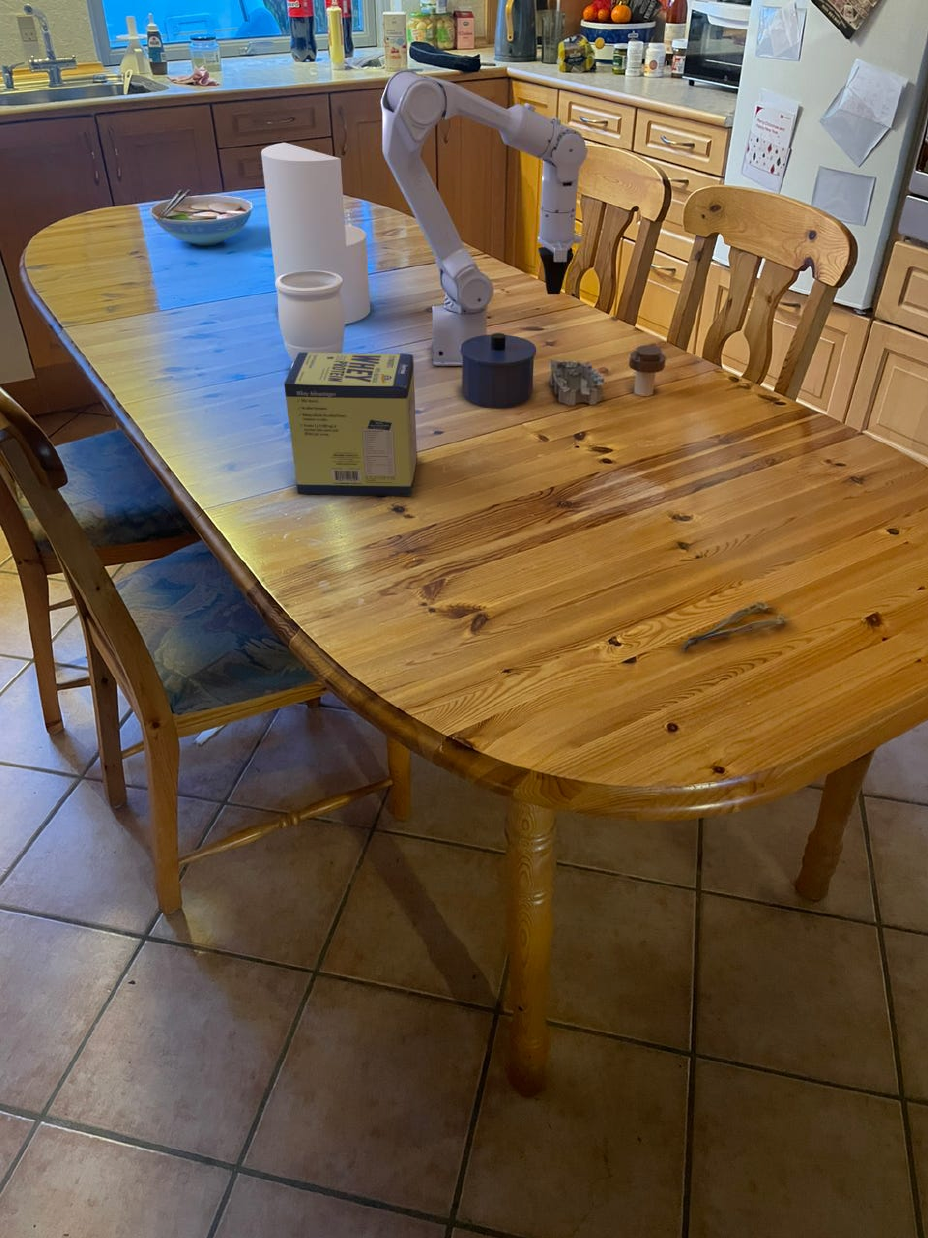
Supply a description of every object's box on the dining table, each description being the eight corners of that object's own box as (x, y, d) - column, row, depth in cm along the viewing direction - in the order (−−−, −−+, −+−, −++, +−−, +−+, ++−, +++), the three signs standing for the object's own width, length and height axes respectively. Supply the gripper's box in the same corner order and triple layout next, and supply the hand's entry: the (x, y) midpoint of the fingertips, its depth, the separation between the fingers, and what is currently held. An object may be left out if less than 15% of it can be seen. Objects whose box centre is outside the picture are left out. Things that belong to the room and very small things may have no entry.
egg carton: (604, 406, 148) (606, 381, 145) (556, 407, 147) (558, 382, 145) (593, 378, 156) (595, 354, 154) (547, 379, 156) (549, 355, 153)
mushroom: (629, 399, 150) (634, 356, 145) (623, 385, 154) (627, 343, 150) (664, 399, 150) (670, 356, 146) (657, 385, 154) (663, 343, 150)
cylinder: (312, 333, 172) (297, 165, 155) (262, 308, 182) (241, 148, 165) (388, 312, 181) (381, 151, 164) (336, 289, 191) (324, 136, 174)
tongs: (674, 645, 100) (678, 630, 99) (760, 610, 106) (764, 595, 105) (703, 666, 97) (706, 651, 96) (789, 629, 103) (793, 614, 102)
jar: (358, 363, 161) (352, 273, 152) (332, 386, 153) (324, 293, 144) (302, 355, 164) (293, 266, 155) (273, 377, 156) (262, 285, 147)
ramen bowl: (245, 257, 208) (240, 218, 203) (141, 256, 208) (134, 217, 203) (266, 226, 228) (262, 190, 223) (171, 226, 228) (164, 189, 223)
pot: (463, 408, 147) (463, 365, 142) (461, 380, 155) (461, 338, 151) (534, 407, 147) (536, 364, 143) (528, 379, 156) (530, 337, 152)
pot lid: (461, 370, 142) (461, 350, 141) (458, 341, 152) (458, 321, 150) (539, 369, 143) (540, 349, 141) (532, 340, 152) (533, 321, 150)
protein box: (307, 457, 133) (296, 350, 124) (418, 459, 133) (415, 352, 124) (294, 495, 125) (281, 383, 116) (412, 497, 125) (409, 385, 115)
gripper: (588, 220, 148) (581, 307, 156) (577, 197, 159) (572, 279, 167) (543, 220, 148) (538, 307, 156) (536, 197, 159) (532, 279, 167)
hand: (553, 292), depth 162 cm, fingers closed
